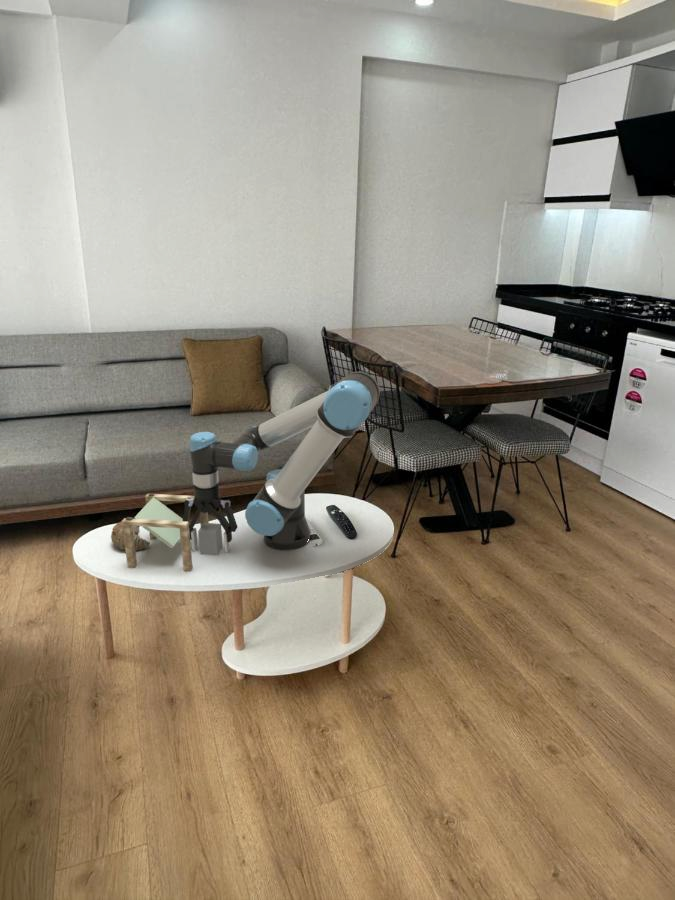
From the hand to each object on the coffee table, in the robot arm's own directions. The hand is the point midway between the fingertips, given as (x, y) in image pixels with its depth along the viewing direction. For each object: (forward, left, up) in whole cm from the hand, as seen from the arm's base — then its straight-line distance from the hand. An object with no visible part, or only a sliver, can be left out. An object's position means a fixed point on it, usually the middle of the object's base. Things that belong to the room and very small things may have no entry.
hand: (211, 549), depth 187 cm
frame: (+12, +3, 0) cm, 12 cm away
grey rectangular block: (0, 0, +4) cm, 4 cm away
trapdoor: (+15, +3, +8) cm, 18 cm away
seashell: (+26, -2, -1) cm, 27 cm away
